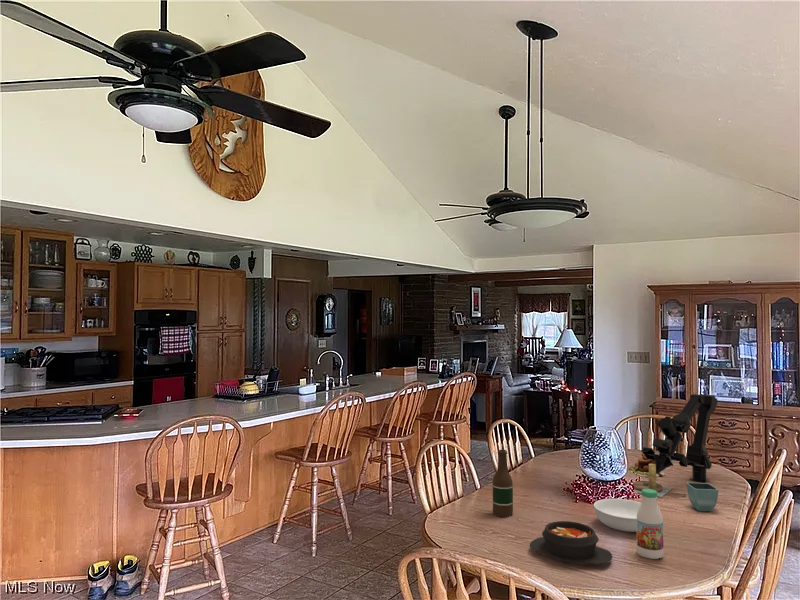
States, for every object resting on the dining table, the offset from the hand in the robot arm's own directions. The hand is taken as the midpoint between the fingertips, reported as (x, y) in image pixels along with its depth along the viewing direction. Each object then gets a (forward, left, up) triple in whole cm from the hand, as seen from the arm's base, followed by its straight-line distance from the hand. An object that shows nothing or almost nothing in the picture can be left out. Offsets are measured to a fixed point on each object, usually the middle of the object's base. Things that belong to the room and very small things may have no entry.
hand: (656, 472), depth 243 cm
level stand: (-3, -5, -9) cm, 10 cm away
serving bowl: (+47, +2, -9) cm, 48 cm away
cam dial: (-3, -5, -9) cm, 10 cm away
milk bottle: (+66, +16, -9) cm, 68 cm away
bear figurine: (-30, -13, -9) cm, 34 cm away
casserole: (+83, -3, -9) cm, 83 cm away
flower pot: (+9, +19, -9) cm, 23 cm away
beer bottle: (+63, -38, -9) cm, 74 cm away
